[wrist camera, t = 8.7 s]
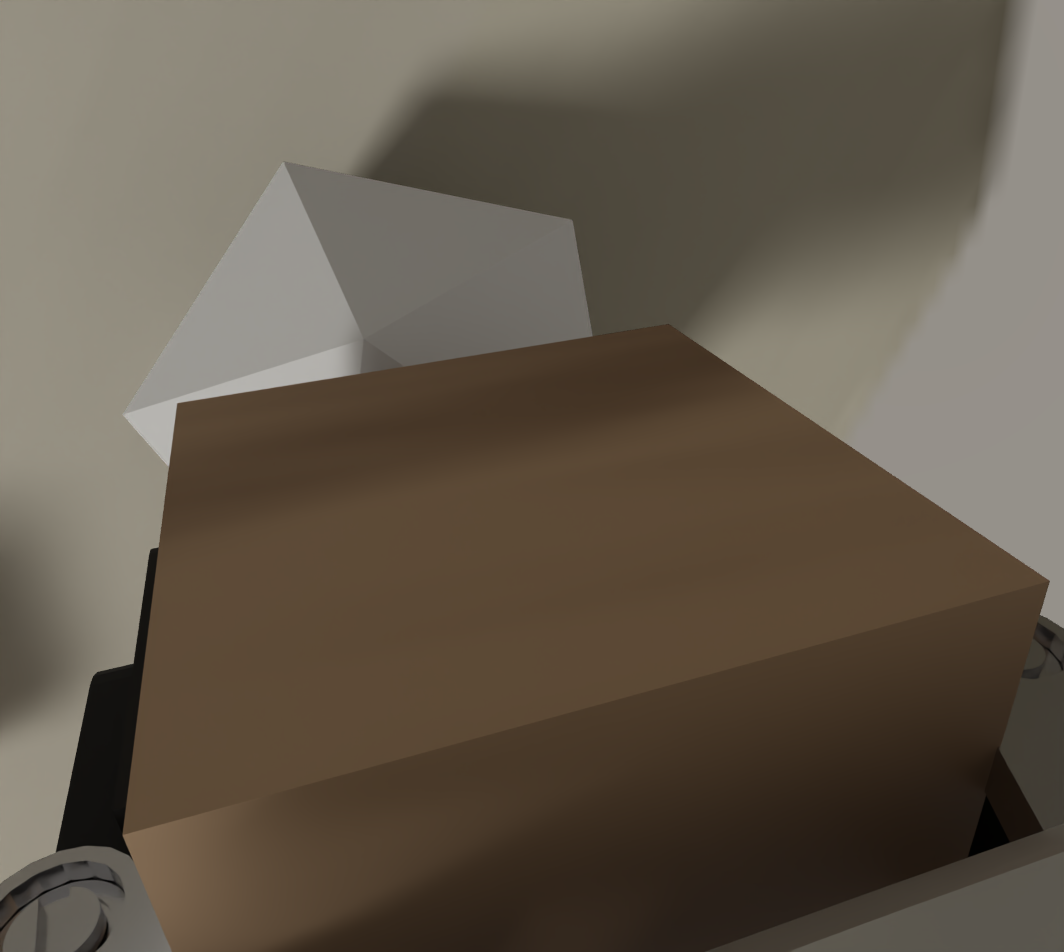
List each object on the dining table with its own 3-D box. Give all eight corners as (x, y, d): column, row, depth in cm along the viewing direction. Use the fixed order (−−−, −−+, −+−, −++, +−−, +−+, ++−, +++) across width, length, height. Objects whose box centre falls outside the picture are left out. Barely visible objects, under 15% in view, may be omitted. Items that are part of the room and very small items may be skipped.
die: (187, 91, 17) (-79, 493, 11) (623, 44, 15) (553, 506, 9) (337, 372, 23) (214, 714, 18) (654, 366, 21) (624, 748, 16)
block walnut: (177, 403, 9) (122, 835, 4) (668, 323, 11) (1049, 580, 6) (281, 781, 12) (320, 1302, 7) (659, 678, 14) (909, 1054, 9)
